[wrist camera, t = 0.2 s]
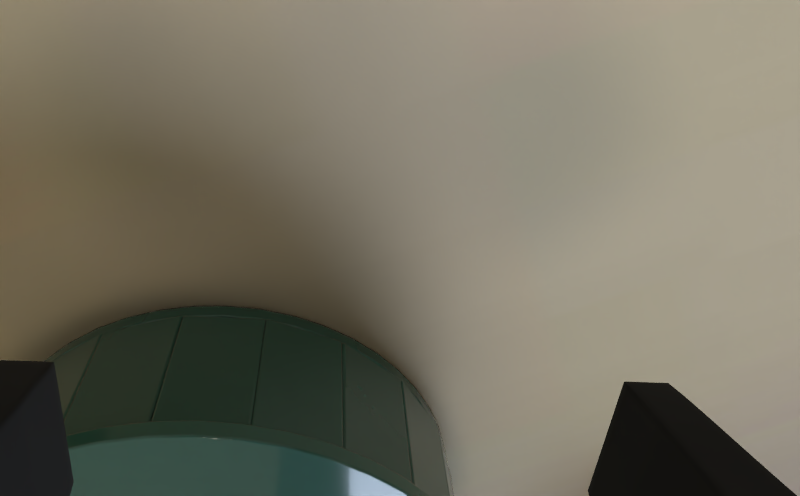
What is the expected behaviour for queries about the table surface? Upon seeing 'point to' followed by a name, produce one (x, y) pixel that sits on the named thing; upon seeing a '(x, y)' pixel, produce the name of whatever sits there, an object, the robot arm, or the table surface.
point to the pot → (252, 384)
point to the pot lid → (221, 463)
